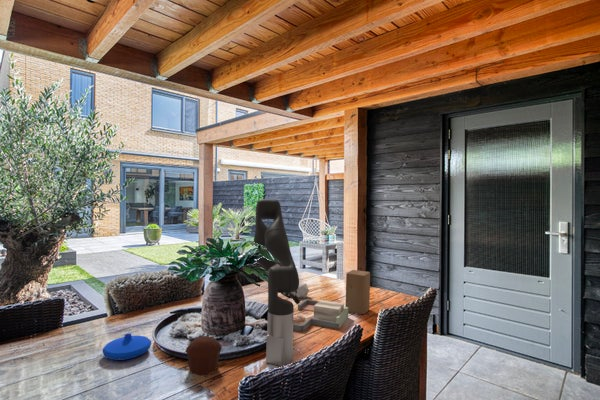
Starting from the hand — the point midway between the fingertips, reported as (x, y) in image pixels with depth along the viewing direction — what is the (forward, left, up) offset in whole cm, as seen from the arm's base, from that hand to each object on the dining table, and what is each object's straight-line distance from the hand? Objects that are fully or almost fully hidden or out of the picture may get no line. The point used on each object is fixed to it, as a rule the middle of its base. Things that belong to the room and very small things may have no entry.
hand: (299, 302), depth 165 cm
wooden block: (+20, -25, -6) cm, 32 cm away
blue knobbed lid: (-65, +39, -6) cm, 76 cm away
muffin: (-61, +8, -6) cm, 62 cm away
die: (+28, +10, -6) cm, 30 cm away
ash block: (+1, -15, -6) cm, 17 cm away
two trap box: (0, -10, -6) cm, 11 cm away
